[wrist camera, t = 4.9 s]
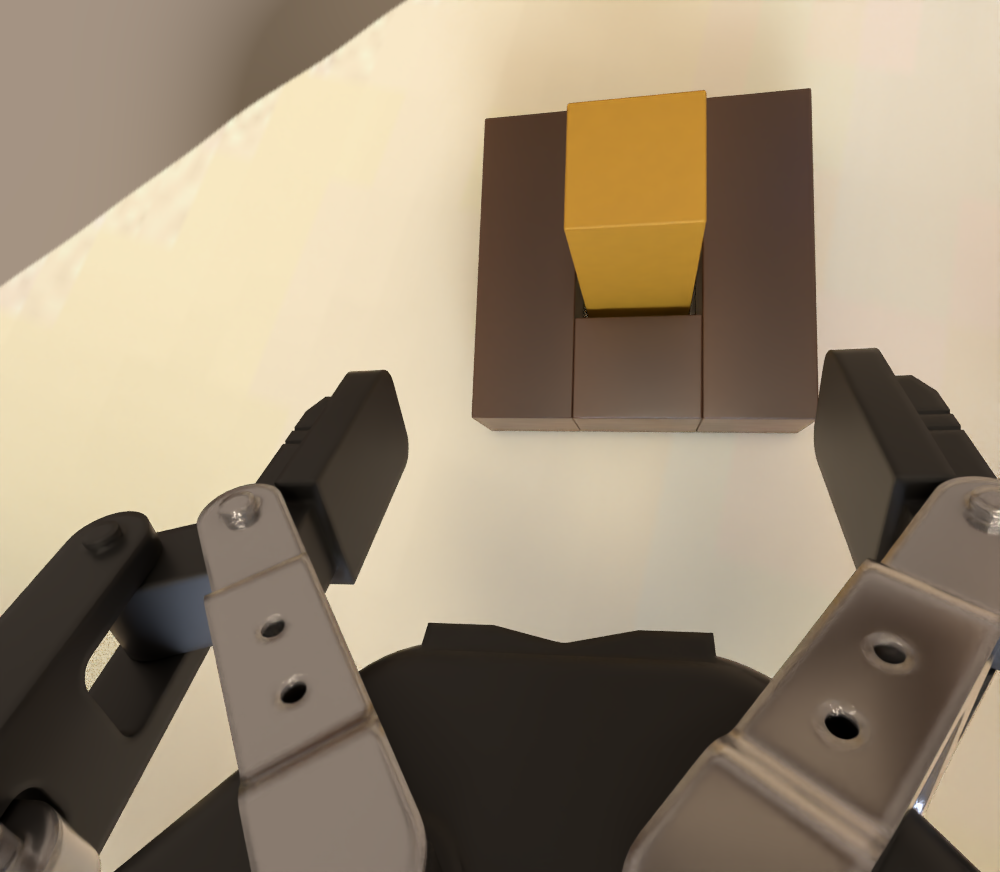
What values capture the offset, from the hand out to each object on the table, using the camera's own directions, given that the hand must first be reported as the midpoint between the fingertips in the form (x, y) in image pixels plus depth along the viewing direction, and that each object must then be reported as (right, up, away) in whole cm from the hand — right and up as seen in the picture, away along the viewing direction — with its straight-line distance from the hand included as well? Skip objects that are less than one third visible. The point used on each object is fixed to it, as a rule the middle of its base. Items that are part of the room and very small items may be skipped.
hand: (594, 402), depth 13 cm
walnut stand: (+4, +6, +17) cm, 18 cm away
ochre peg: (+4, +6, +17) cm, 18 cm away
